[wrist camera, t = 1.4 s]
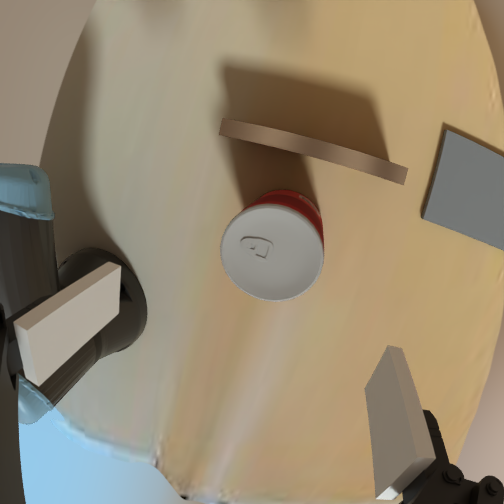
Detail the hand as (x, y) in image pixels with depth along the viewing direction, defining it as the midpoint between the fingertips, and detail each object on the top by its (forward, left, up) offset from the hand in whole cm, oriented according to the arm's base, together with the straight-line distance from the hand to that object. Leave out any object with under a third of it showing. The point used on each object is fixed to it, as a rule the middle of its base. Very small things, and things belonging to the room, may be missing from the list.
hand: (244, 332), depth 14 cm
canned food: (0, 0, -22) cm, 22 cm away
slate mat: (+21, +10, -22) cm, 31 cm away
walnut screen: (+1, +9, -22) cm, 23 cm away
